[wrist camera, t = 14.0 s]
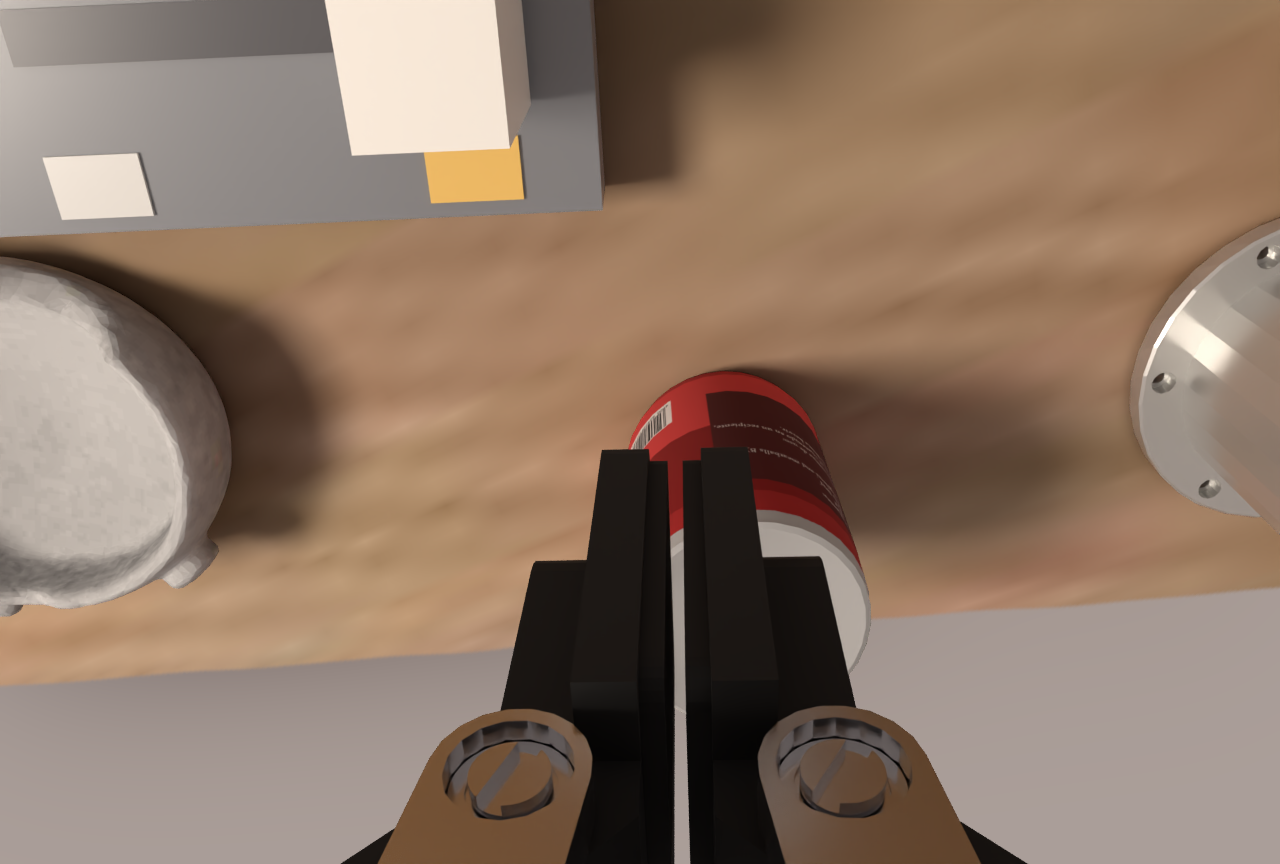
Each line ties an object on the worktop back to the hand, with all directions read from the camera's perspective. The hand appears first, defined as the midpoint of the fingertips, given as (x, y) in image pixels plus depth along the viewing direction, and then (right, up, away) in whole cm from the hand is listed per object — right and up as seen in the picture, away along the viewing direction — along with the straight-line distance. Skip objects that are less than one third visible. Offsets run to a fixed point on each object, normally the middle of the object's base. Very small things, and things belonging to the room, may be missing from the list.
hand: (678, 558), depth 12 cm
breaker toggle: (-6, +14, +18) cm, 23 cm away
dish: (-23, +2, +28) cm, 36 cm away
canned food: (+3, +1, +29) cm, 29 cm away
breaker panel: (-12, +15, +21) cm, 28 cm away
